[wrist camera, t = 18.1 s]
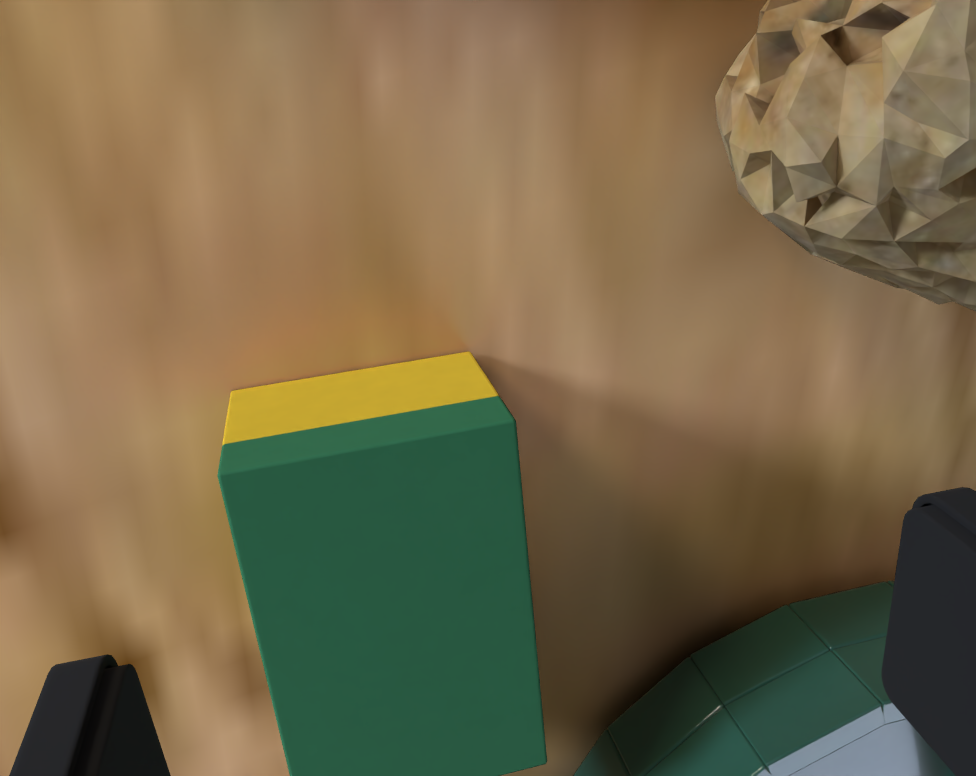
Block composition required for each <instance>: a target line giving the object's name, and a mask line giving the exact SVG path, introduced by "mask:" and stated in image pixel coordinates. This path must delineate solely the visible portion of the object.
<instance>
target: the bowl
mask: <svg viewBox="0 0 976 776" xmlns="http://www.w3.org/2000/svg"><path fill="white" fill-rule="evenodd" d="M893 588H894V581H890V580H889V581H887V582H884V581H883V582H879V583H875V584H870V585H866V586H862V587H858V588H853V589H849V590H845V591H840V592H836V593H832V594H828V595H823V596H819V597H815V598H810V599H806V600H802V601H797V602H793V603H790V604H789V606H788V605H784V606H782V607H780V608H778V609H776V610H774V611H772V612H770V613H768V614H766V615H764V616H763V617H761V618H759V619H757V620H755V621H753V622H751V623H749V624H747V625H745V626H743V627H742V628H740V629H738V630H736V631H734V632H732V633H730V634H728V635H726V636H724V637H722V638H720V639H719V640H717V641H715V642H713V643H711V644H709V645H707V646H705V647H703V648H701V649H699V650H698V651H696V652H694V653H692V654H691V655H690V657H687V658H685V659H684V660H683V661H682V662H681V663H680V664H679V665H677V666H676V667H675V668H674V669H673V670H672V671H671V672H669V673H668V674H667V675H666V676H665V677H664V678H663V679H661V680H660V681H659V682H658V683H657V684H656V685H655V686H653V687H652V688H651V689H650V690H649V691H648V692H647V693H645V694H644V695H643V696H642V697H641V698H640V699H639V700H637V701H636V702H635V703H634V704H633V705H632V706H631V707H629V708H628V709H627V710H626V711H625V712H624V713H623V714H621V715H620V716H619V717H618V718H617V719H616V720H615V721H613V722H612V723H611V724H610V725H609V726H608V729H605V730H604V731H603V732H602V734H601V735H600V737H599V738H598V740H597V741H596V743H595V744H594V746H593V747H592V749H591V750H590V752H589V753H588V754H587V756H586V757H585V759H584V760H583V762H582V763H581V765H580V766H579V768H578V769H577V771H576V772H575V774H574V775H573V776H955V774H954V773H953V772H952V771H951V770H950V769H949V767H948V766H947V765H946V764H945V763H944V762H943V761H942V759H941V758H940V757H939V756H938V755H937V754H936V753H935V751H934V750H933V749H932V748H931V747H930V746H929V745H928V743H927V742H926V741H925V740H924V739H923V738H922V737H921V735H920V734H919V733H918V732H917V731H916V730H915V728H914V727H913V726H912V725H911V724H910V723H909V722H908V720H907V719H906V718H905V717H904V716H903V715H902V714H901V712H900V711H899V710H898V709H897V708H896V707H895V706H894V704H893V703H892V702H891V700H890V699H889V697H888V695H887V693H886V691H885V689H884V686H883V682H882V677H881V675H882V664H883V657H884V650H885V643H886V636H887V629H888V623H889V616H890V609H891V602H892V595H893Z"/></svg>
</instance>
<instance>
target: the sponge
mask: <svg viewBox="0 0 976 776" xmlns="http://www.w3.org/2000/svg"><path fill="white" fill-rule="evenodd" d="M715 102H716V116H717V124H718V127H719V130H720V133H721V136H722V139H723V142H724V146H725V149H726V152H727V155H728V158H729V161H730V164H731V168H732V171H735V176H736V182H737V187H738V193H739V194H740V195H741V196H742V197H743V198H744V199H745V200H746V201H748V202H749V203H750V204H751V205H752V206H753V207H754V208H755V209H756V210H757V211H758V212H759V213H760V214H761V215H763V216H764V217H765V218H766V219H768V220H769V221H770V222H772V223H773V224H774V225H775V226H777V227H778V228H779V229H780V230H782V231H783V232H784V233H785V234H787V235H788V236H789V237H790V238H792V239H793V240H794V241H795V242H797V243H798V244H799V245H800V246H802V247H803V248H804V249H805V250H807V251H808V252H809V253H810V254H812V255H815V256H817V257H819V258H822V259H824V260H827V261H829V262H832V263H834V264H837V265H839V266H842V267H844V268H846V269H849V270H852V271H854V272H857V273H859V274H862V275H865V276H867V277H870V278H873V279H875V280H878V281H880V282H883V283H886V284H888V285H891V286H894V287H896V288H903V289H907V290H909V291H912V292H914V293H916V294H918V295H920V296H922V297H924V298H926V299H928V300H930V301H932V302H934V303H936V304H944V303H948V302H955V303H958V304H960V305H962V306H965V307H967V308H969V309H971V310H974V311H976V0H767V2H766V3H765V5H764V6H763V8H762V9H761V11H760V14H759V21H758V29H757V33H756V34H755V35H754V36H753V38H752V39H751V40H750V41H749V43H748V44H747V45H746V46H745V48H744V49H743V50H742V51H741V52H740V54H739V55H738V57H737V58H736V60H735V61H734V63H733V64H732V66H731V68H730V69H729V71H728V72H727V74H726V75H725V77H724V79H723V81H722V83H721V85H720V88H719V90H718V92H717V94H716V96H715Z"/></svg>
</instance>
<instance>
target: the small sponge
mask: <svg viewBox="0 0 976 776" xmlns="http://www.w3.org/2000/svg"><path fill="white" fill-rule="evenodd" d="M222 445H223V446H222V451H221V457H220V464H219V470H218V479H219V484H220V488H221V492H222V496H223V500H224V504H225V508H226V513H227V517H228V521H229V525H230V529H231V533H232V537H233V542H234V546H235V550H236V554H237V558H238V562H239V566H240V571H241V575H242V579H243V583H244V587H245V591H246V595H247V600H248V604H249V608H250V612H251V616H252V620H253V624H254V629H255V633H256V637H257V641H258V645H259V649H260V653H261V658H262V662H263V666H264V670H265V674H266V678H267V682H268V687H269V691H270V695H271V699H272V703H273V707H274V711H275V716H276V720H277V724H278V728H279V732H280V736H281V740H282V745H283V749H284V753H285V757H286V761H287V765H288V769H289V774H290V776H500V775H504V774H508V773H512V772H516V771H520V770H524V769H528V768H532V767H536V766H539V765H543V764H546V762H547V755H546V744H545V734H544V723H543V712H542V701H541V690H540V679H539V668H538V657H537V646H536V635H535V624H534V614H533V603H532V592H531V581H530V570H529V559H528V548H527V537H526V526H525V515H524V504H523V494H522V483H521V472H520V461H519V450H518V439H517V428H516V421H515V419H514V417H513V416H512V414H511V413H510V411H509V410H508V408H507V407H506V405H505V404H504V402H503V401H502V399H501V398H500V397H499V394H498V393H497V391H496V390H495V388H494V387H493V385H492V384H491V382H490V381H489V379H488V378H487V376H486V375H485V373H484V372H483V370H482V369H481V367H480V366H479V364H478V363H477V361H476V360H475V358H474V357H473V355H472V354H471V352H463V353H457V354H451V355H445V356H439V357H433V358H427V359H421V360H415V361H409V362H403V363H397V364H391V365H385V366H379V367H373V368H366V369H360V370H354V371H348V372H342V373H336V374H330V375H324V376H318V377H312V378H306V379H300V380H294V381H288V382H282V383H276V384H270V385H264V386H258V387H252V388H246V389H240V390H234V391H231V395H230V401H229V407H228V413H227V419H226V425H225V432H224V438H223V444H222Z"/></svg>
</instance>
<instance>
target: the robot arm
mask: <svg viewBox="0 0 976 776" xmlns="http://www.w3.org/2000/svg"><path fill="white" fill-rule="evenodd" d="M881 677H882V682H883V686H884V689H885V691H886V693H887V695H888V697H889V699H890V700H891V702H892V703H893V704H894V706H895V707H896V708H897V709H898V710H899V711H900V712H901V714H902V715H903V716H904V717H905V718H906V719H907V720H908V722H909V723H910V724H911V725H912V726H913V727H914V728H915V730H916V731H917V732H918V733H919V734H920V735H921V737H922V738H923V739H924V740H925V741H926V742H927V743H928V745H929V746H930V747H931V748H932V749H933V750H934V751H935V753H936V754H937V755H938V756H939V757H940V758H941V759H942V761H943V762H944V763H945V764H946V765H947V766H948V767H949V769H950V770H951V771H952V772H953V773H954V774H955V776H976V491H974V490H972V489H970V488H963V487H961V488H956V489H951V490H946V491H940V492H935V493H930V494H925V495H922V496H920V497H918V498H917V500H916V501H915V502H914V504H913V508H912V509H911V510H909V511H908V512H907V513H906V514H905V516H904V520H903V526H902V533H901V539H900V546H899V553H898V560H897V567H896V574H895V581H894V588H893V595H892V602H891V609H890V616H889V623H888V629H887V636H886V643H885V650H884V657H883V664H882V675H881ZM9 776H170V773H169V770H168V767H167V763H166V760H165V757H164V754H163V751H162V748H161V745H160V742H159V739H158V736H157V733H156V730H155V727H154V724H153V721H152V718H151V715H150V712H149V709H148V706H147V703H146V699H145V696H144V693H143V690H142V687H141V684H140V681H139V678H138V675H137V672H136V670H135V668H134V667H133V665H131V664H127V665H122V666H118V665H117V663H116V660H115V659H114V658H113V657H112V655H103V656H98V657H93V658H87V659H82V660H77V661H72V662H67V663H62V664H57V665H55V666H53V667H52V668H51V670H50V671H49V673H48V675H47V678H46V680H45V683H44V686H43V688H42V691H41V694H40V696H39V699H38V702H37V704H36V707H35V709H34V712H33V715H32V717H31V720H30V723H29V725H28V728H27V731H26V733H25V736H24V738H23V741H22V744H21V746H20V749H19V752H18V754H17V757H16V759H15V762H14V765H13V767H12V770H11V773H10V775H9Z"/></svg>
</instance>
